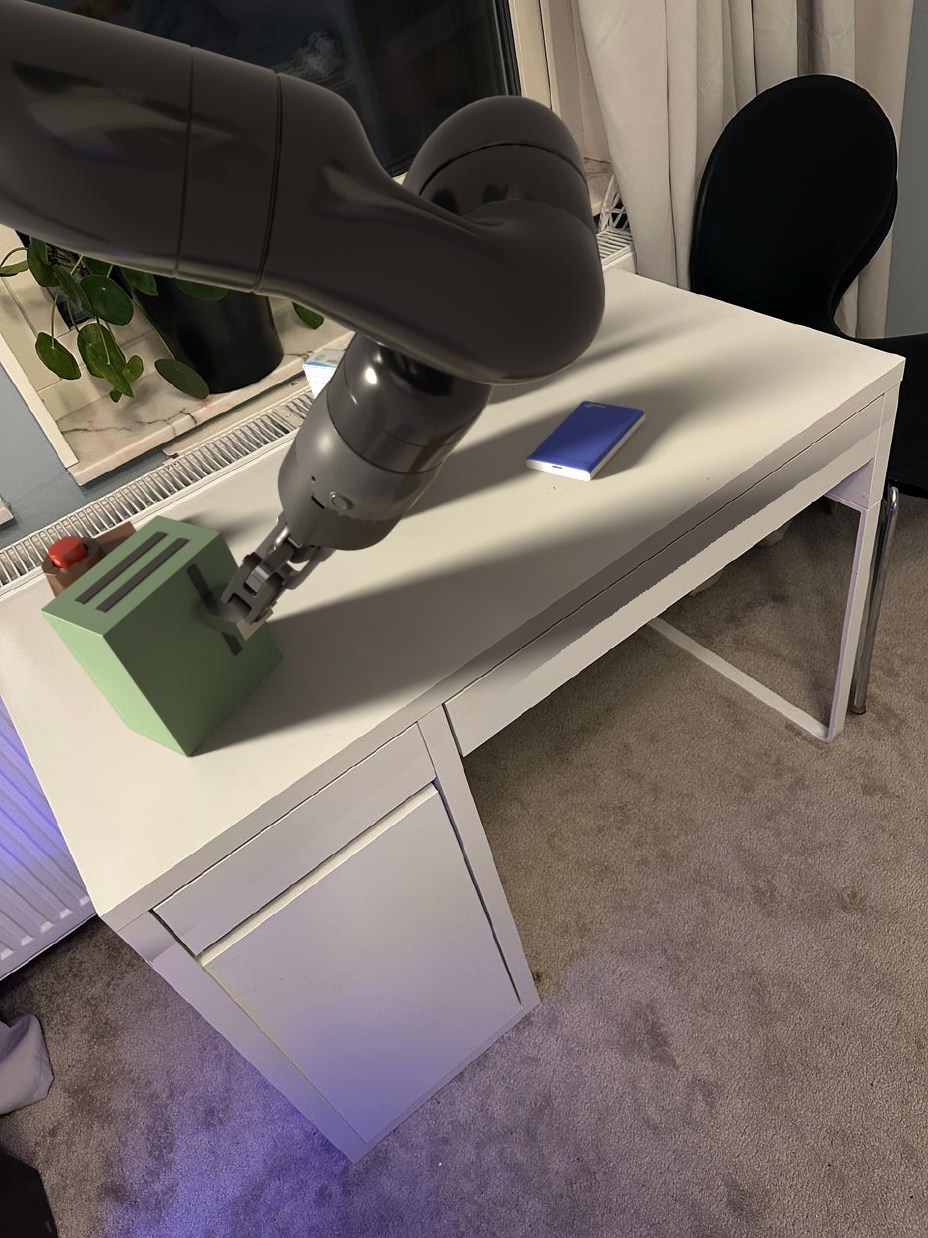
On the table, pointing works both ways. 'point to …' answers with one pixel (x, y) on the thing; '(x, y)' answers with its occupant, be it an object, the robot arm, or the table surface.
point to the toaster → (162, 634)
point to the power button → (67, 551)
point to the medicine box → (322, 368)
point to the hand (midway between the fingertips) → (288, 571)
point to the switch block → (86, 557)
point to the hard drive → (586, 440)
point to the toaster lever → (226, 616)
